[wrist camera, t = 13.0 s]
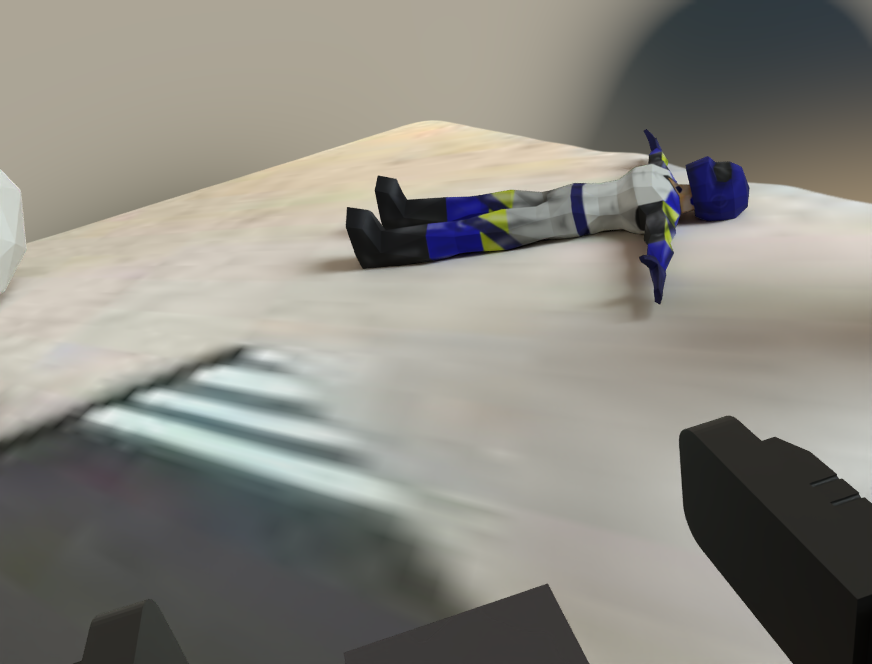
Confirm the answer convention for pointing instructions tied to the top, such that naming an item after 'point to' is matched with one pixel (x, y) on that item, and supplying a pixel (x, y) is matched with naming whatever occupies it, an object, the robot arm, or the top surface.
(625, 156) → the top surface
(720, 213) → the toy
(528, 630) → the dark grey tall block
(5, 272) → the geometric sphere
